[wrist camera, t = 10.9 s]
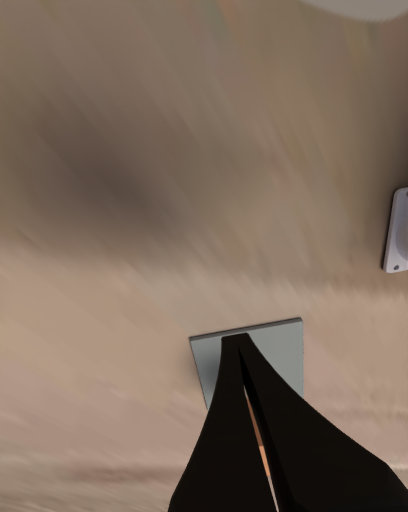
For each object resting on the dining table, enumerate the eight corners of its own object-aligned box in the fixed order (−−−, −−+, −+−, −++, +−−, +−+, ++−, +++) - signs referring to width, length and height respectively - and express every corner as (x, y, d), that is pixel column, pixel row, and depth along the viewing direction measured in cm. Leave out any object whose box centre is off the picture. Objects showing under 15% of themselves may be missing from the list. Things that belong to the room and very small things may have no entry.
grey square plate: (301, 317, 24) (303, 321, 24) (301, 393, 29) (303, 397, 28) (190, 337, 24) (190, 341, 24) (208, 409, 29) (209, 414, 28)
